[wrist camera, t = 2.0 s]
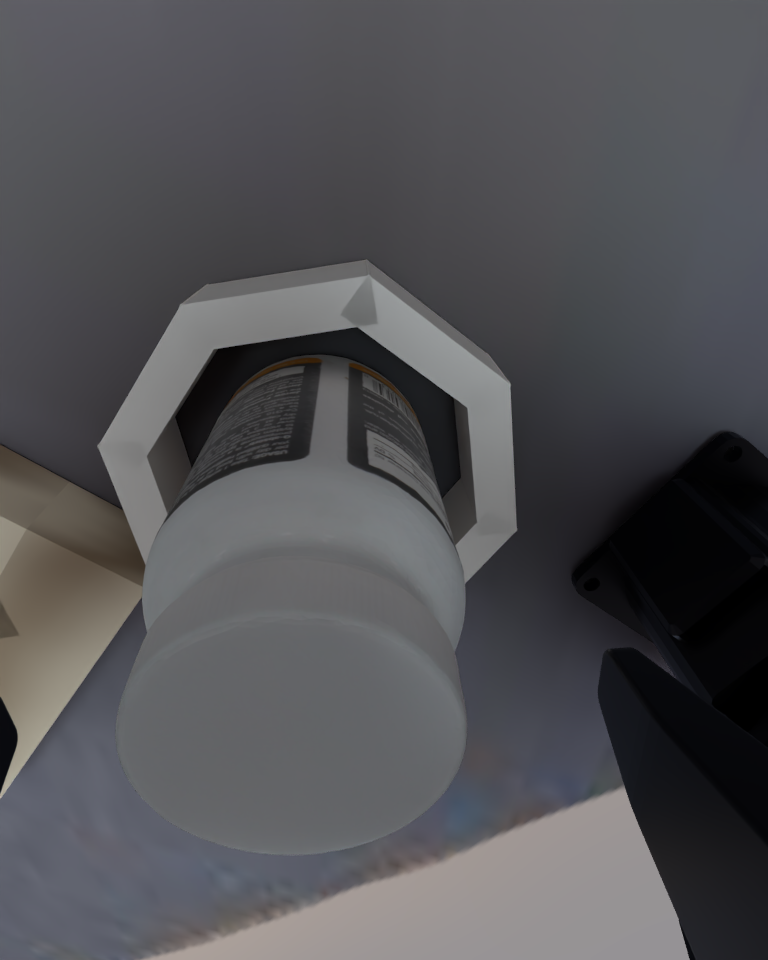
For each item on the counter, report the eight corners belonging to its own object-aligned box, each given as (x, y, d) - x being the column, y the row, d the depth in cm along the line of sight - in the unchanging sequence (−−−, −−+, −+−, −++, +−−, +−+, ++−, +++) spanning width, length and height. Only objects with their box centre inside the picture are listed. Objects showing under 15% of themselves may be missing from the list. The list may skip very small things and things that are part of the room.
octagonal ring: (563, 412, 16) (596, 449, 14) (361, 631, 20) (362, 689, 18) (267, 180, 14) (250, 182, 11) (87, 483, 17) (47, 531, 15)
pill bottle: (230, 535, 18) (111, 889, 9) (208, 345, 15) (9, 584, 6) (420, 533, 18) (483, 874, 9) (430, 347, 15) (532, 577, 7)
